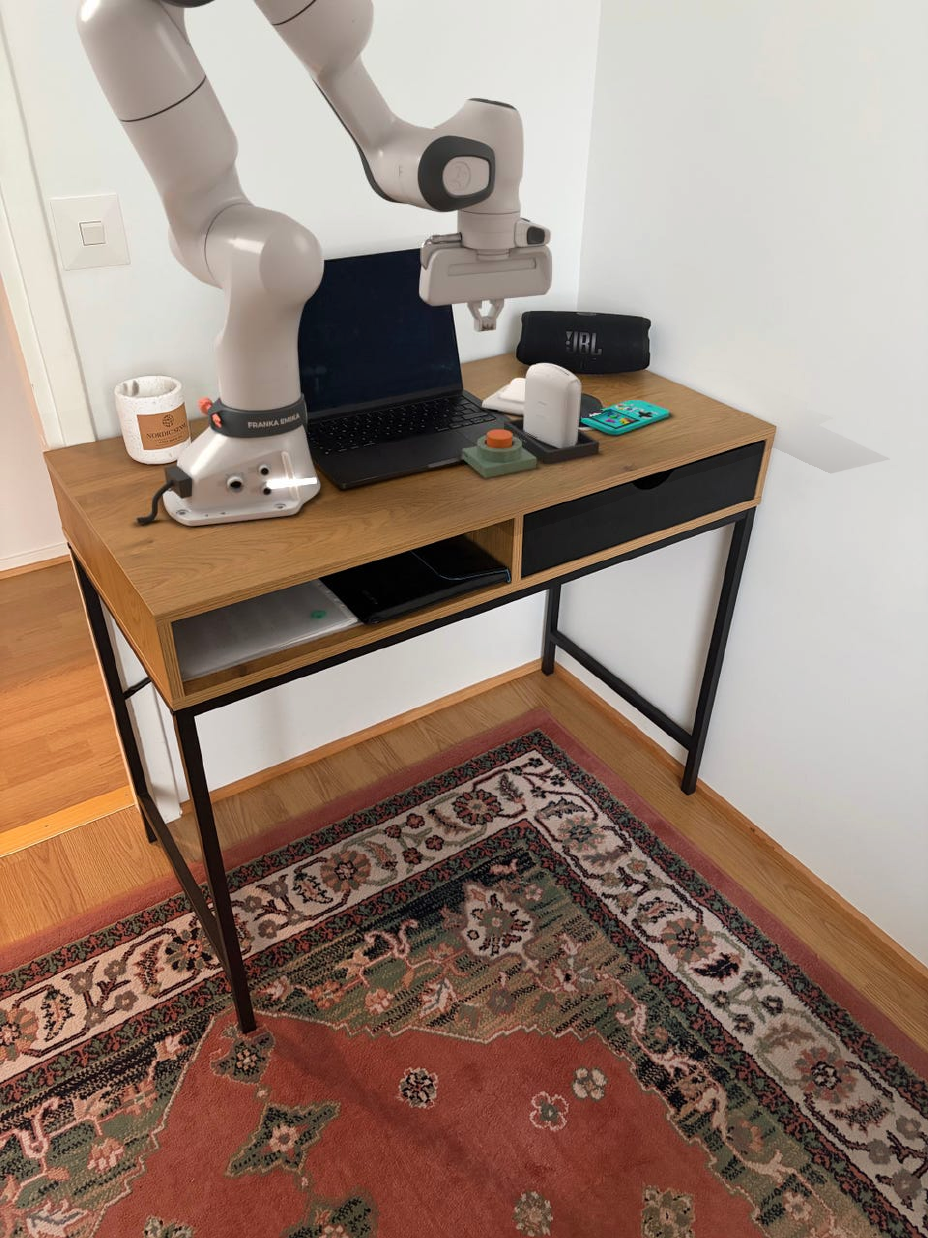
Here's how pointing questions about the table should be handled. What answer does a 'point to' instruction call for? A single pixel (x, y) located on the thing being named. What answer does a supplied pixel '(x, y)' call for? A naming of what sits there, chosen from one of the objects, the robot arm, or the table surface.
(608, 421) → the handheld gaming console
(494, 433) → the button
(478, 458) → the button housing
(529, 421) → the photo printer
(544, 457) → the tray
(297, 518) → the table surface
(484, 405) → the light switch
